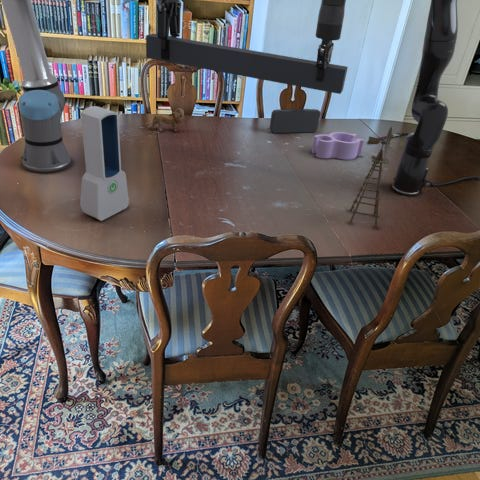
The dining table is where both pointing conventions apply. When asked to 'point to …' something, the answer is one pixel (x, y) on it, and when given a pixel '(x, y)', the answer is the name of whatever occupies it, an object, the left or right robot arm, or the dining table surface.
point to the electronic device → (102, 165)
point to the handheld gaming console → (294, 120)
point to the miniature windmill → (377, 160)
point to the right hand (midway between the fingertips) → (320, 79)
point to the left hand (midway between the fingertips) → (168, 57)
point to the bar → (248, 63)
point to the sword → (391, 136)
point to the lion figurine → (169, 119)
